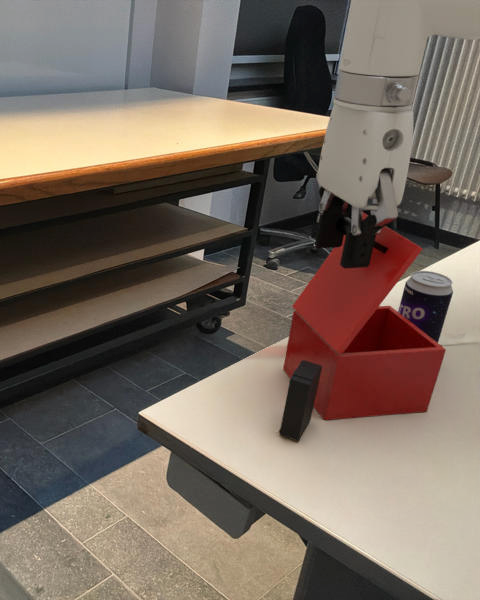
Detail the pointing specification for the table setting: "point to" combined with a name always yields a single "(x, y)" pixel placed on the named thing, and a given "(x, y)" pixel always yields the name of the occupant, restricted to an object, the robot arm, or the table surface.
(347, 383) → the red box
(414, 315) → the beverage can
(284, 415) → the ink cartridge
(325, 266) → the red box lid
